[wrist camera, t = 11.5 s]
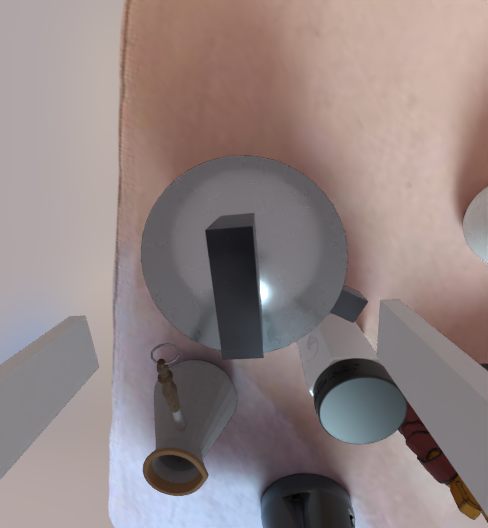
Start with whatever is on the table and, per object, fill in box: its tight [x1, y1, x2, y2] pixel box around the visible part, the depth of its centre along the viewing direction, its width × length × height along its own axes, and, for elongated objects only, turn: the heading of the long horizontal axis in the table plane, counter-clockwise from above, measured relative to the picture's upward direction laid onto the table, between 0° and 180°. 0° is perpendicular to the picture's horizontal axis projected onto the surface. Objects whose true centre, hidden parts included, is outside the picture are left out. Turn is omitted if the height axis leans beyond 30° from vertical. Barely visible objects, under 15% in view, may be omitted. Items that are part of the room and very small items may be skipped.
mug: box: [398, 399, 488, 522], centre depth 31 cm, size 11×16×15 cm, turn 76°
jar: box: [297, 314, 407, 444], centre depth 30 cm, size 9×8×12 cm
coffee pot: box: [143, 343, 237, 496], centre depth 31 cm, size 21×12×15 cm, turn 177°
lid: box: [141, 155, 348, 360], centre depth 19 cm, size 16×16×8 cm
